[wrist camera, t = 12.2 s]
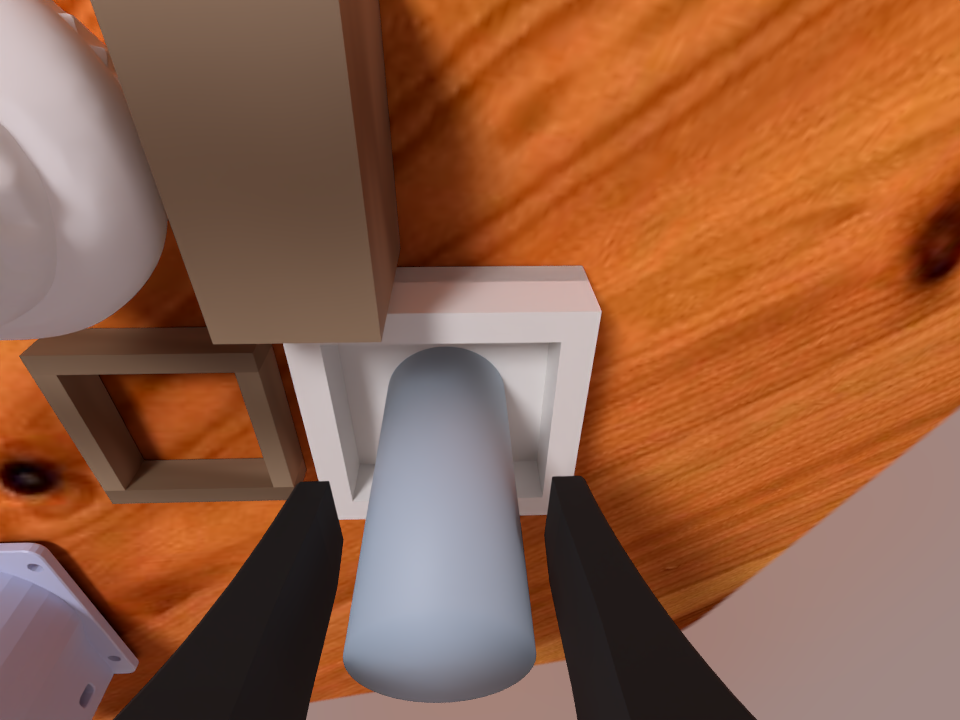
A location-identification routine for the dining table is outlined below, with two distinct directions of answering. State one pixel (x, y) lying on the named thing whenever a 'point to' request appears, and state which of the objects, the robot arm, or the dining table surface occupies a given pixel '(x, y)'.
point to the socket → (89, 352)
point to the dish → (469, 325)
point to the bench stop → (268, 158)
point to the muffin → (68, 179)
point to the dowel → (442, 540)
